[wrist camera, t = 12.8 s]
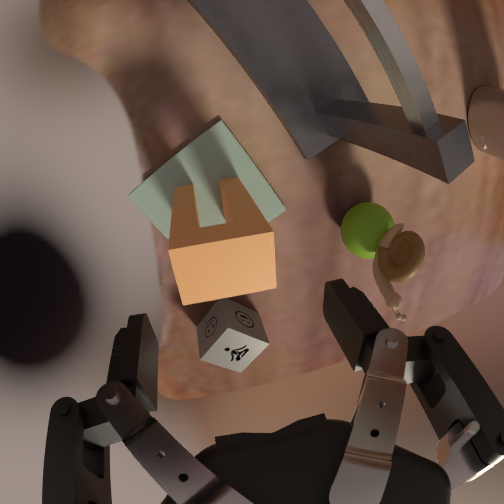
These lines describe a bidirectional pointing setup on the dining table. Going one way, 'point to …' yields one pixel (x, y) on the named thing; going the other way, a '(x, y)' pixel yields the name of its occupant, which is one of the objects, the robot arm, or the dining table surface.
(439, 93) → the dining table surface
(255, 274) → the c link
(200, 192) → the felt mat
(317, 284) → the dining table surface
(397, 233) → the snail figurine
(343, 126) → the rail stand
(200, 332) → the dice cube
